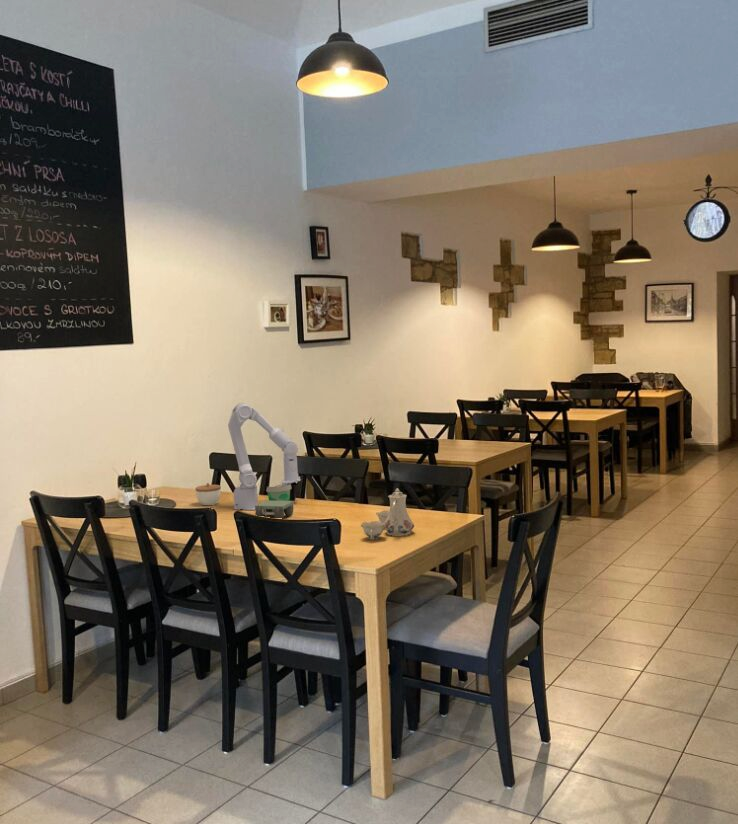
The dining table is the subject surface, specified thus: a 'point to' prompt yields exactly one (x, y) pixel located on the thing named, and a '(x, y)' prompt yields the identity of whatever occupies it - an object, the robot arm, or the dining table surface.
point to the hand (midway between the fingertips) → (292, 500)
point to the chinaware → (391, 519)
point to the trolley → (274, 508)
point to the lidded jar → (208, 494)
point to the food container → (279, 493)
